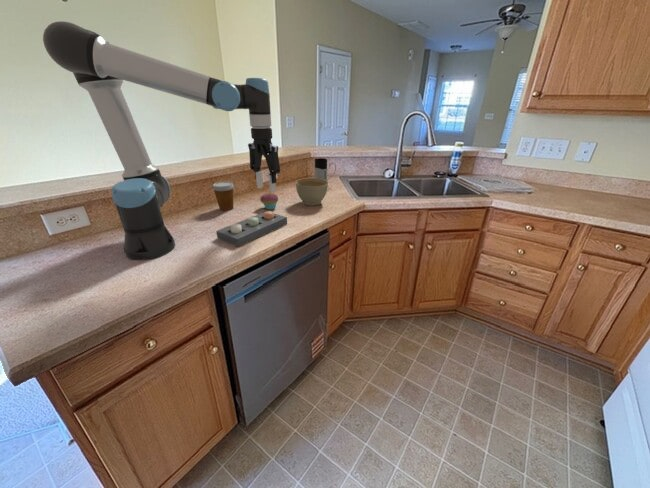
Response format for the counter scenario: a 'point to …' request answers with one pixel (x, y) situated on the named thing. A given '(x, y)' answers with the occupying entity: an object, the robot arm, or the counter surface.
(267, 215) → the terracotta button
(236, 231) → the white rounded piece
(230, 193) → the disposable coffee cup
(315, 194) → the planter bowl
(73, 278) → the counter surface
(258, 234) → the button panel
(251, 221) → the sage button
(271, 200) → the cupcake
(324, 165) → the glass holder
